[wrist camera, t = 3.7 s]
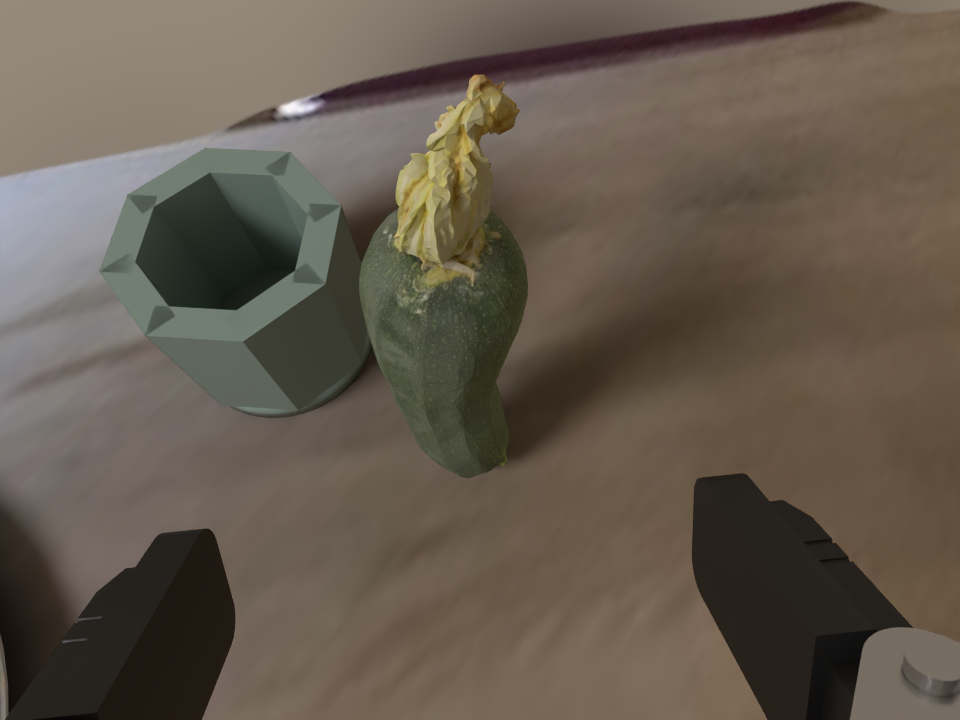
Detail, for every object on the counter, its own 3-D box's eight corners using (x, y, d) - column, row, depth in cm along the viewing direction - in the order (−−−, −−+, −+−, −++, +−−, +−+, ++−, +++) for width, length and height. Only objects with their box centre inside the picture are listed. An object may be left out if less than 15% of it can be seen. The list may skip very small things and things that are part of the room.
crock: (308, 229, 34) (257, 114, 27) (409, 341, 32) (383, 246, 24) (163, 326, 32) (65, 229, 25) (258, 455, 29) (179, 388, 22)
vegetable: (419, 498, 28) (279, 216, 10) (412, 405, 30) (283, 22, 12) (521, 487, 29) (563, 187, 10) (509, 394, 30) (525, -1, 12)
